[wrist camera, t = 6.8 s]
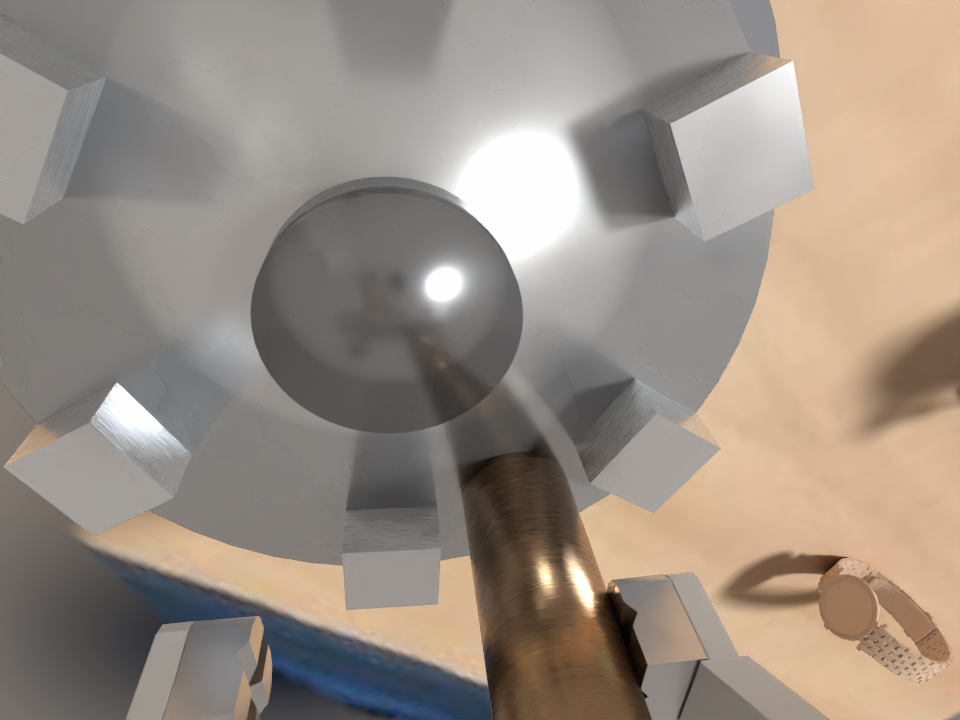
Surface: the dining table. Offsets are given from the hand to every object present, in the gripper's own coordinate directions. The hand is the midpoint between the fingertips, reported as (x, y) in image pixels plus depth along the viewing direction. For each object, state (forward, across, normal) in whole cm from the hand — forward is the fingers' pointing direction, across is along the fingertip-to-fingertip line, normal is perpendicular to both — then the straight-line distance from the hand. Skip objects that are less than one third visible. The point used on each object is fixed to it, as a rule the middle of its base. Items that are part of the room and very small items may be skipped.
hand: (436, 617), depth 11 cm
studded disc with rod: (+6, +1, -5) cm, 8 cm away
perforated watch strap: (+10, -19, +13) cm, 25 cm away
